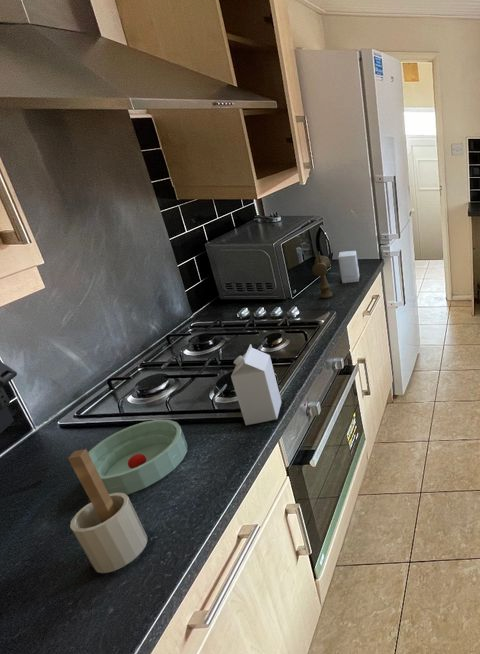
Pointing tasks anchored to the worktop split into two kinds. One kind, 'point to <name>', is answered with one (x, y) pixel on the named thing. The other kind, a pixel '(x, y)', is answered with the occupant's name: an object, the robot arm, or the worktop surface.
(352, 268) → the white packaging box
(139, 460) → the cherry tomato
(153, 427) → the bowl
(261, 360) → the milk carton
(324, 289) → the kendama
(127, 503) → the crock
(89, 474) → the stirring stick
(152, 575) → the worktop surface
